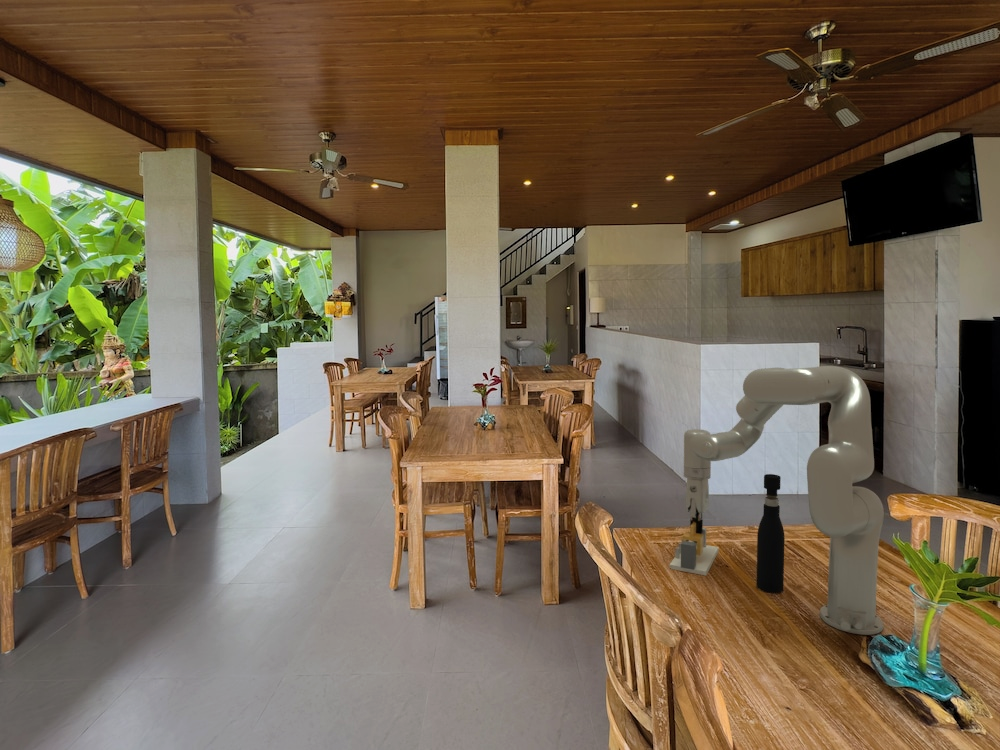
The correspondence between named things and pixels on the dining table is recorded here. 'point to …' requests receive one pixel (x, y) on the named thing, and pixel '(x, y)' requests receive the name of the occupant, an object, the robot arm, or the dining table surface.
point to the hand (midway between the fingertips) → (696, 532)
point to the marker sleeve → (694, 538)
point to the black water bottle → (770, 541)
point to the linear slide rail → (694, 557)
